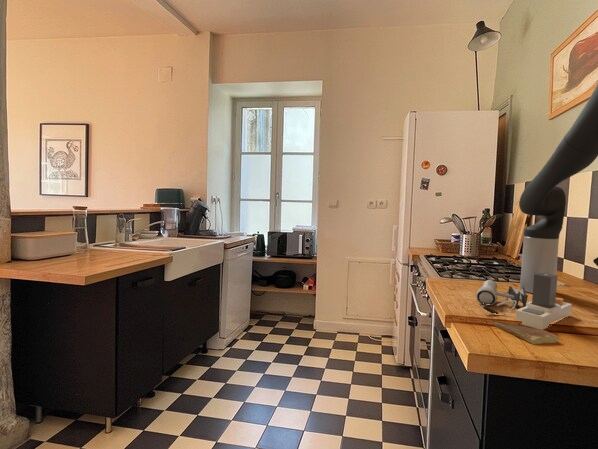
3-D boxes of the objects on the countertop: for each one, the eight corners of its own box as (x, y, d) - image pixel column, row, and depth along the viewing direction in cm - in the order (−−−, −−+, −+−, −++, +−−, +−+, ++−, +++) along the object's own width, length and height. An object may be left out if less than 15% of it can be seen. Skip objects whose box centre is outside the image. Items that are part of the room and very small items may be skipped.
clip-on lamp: (521, 332, 86) (526, 300, 101) (526, 309, 84) (530, 279, 99) (468, 318, 93) (479, 289, 107) (472, 296, 91) (482, 269, 105)
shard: (492, 327, 82) (492, 319, 82) (520, 325, 84) (521, 318, 84) (530, 346, 72) (531, 337, 72) (563, 344, 73) (563, 336, 73)
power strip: (549, 307, 97) (550, 293, 97) (574, 313, 92) (576, 298, 92) (515, 322, 84) (516, 305, 84) (542, 330, 80) (543, 312, 79)
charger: (538, 304, 89) (540, 272, 89) (554, 308, 86) (557, 275, 86) (531, 307, 87) (534, 274, 86) (548, 311, 84) (551, 276, 83)
